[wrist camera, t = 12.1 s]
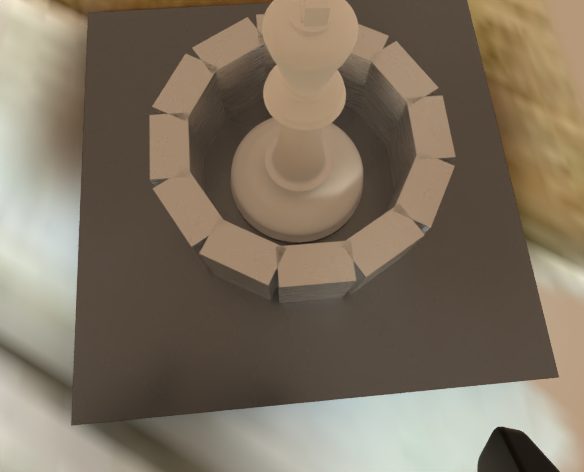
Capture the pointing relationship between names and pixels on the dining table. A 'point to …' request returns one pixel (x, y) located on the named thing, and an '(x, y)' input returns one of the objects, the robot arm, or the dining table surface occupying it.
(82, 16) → the dining table surface
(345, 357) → the lens mount
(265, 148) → the chess piece
